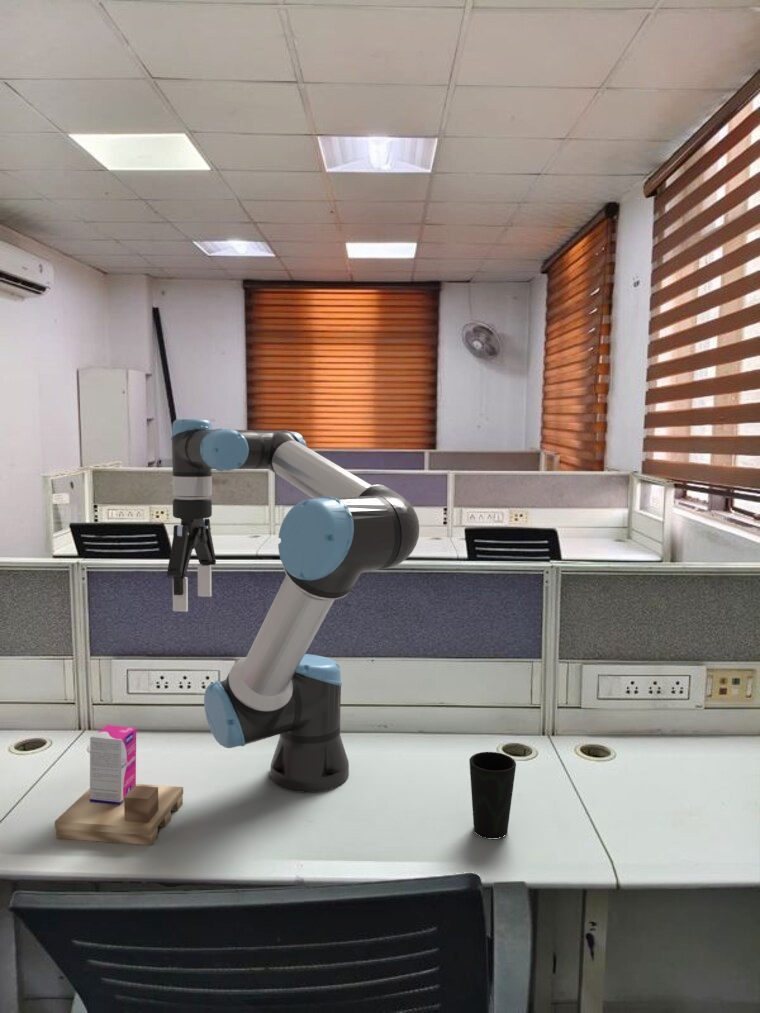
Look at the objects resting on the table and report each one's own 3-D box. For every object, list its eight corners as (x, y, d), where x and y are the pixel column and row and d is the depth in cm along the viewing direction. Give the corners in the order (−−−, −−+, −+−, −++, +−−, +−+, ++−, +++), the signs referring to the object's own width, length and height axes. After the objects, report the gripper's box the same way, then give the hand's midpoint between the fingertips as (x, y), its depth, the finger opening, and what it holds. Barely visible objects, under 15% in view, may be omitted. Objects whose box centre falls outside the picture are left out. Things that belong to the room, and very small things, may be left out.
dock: (183, 803, 130) (183, 787, 130) (150, 846, 116) (150, 828, 116) (97, 797, 132) (97, 781, 132) (55, 839, 118) (54, 821, 118)
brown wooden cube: (158, 810, 122) (158, 787, 121) (148, 822, 118) (148, 798, 117) (135, 808, 122) (135, 785, 122) (124, 821, 118) (124, 797, 118)
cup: (502, 847, 117) (505, 775, 116) (459, 833, 121) (461, 764, 120) (520, 827, 124) (522, 758, 123) (479, 814, 128) (481, 747, 127)
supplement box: (121, 805, 123) (120, 739, 122) (88, 802, 124) (87, 737, 123) (137, 789, 129) (137, 726, 128) (106, 786, 130) (105, 724, 129)
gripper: (196, 493, 158) (196, 590, 159) (147, 502, 133) (149, 617, 135) (230, 493, 157) (230, 591, 159) (187, 503, 132) (188, 618, 134)
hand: (193, 603), depth 147 cm, fingers open, 13 cm apart
